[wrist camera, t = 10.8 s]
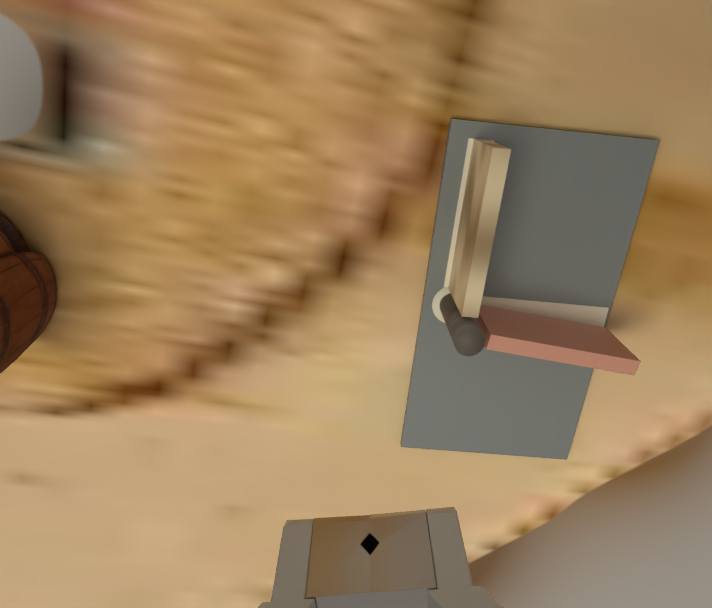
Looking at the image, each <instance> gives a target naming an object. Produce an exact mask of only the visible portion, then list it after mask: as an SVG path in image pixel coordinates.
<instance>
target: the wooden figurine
mask: <svg viewBox="0 0 712 608" xmlns="http://www.w3.org/2000/svg"><path fill="white" fill-rule="evenodd" d="M55 296H56V286H55V279H54V275H53V272H52V269H51V266H50V264H49V262H48V261H47V259H46V258H45V257H44V255H43V254H42V253H39V252H32V251H31V250H30V249H29V248H28V247H27V245H26V244H25V242H24V240H23V238H22V236H21V234H20V233H19V232H18V231H16V229H15V228H14V226H13V225H12V223H11V222H10V220H9V219H8V218H7V217H5V216H4V215H2V214H1V213H0V373H1V372H3V371H4V370H5V369H6V368H7V367H8V366H10V365H11V364H12V363H13V362H14V361H15V360H16V359H17V358H18V357H19V356H20V355H21V354H22V353H23V352H24V351H25V350H26V349H27V348H28V347H29V346H30V345H31V344H32V343H33V342H34V341H35V340H36V339H37V338H38V337H39V335H40V334H41V333H42V332H43V330H44V329H45V327H46V326H47V324H48V321H49V319H50V317H51V315H52V313H53V311H54V307H55Z"/></svg>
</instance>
